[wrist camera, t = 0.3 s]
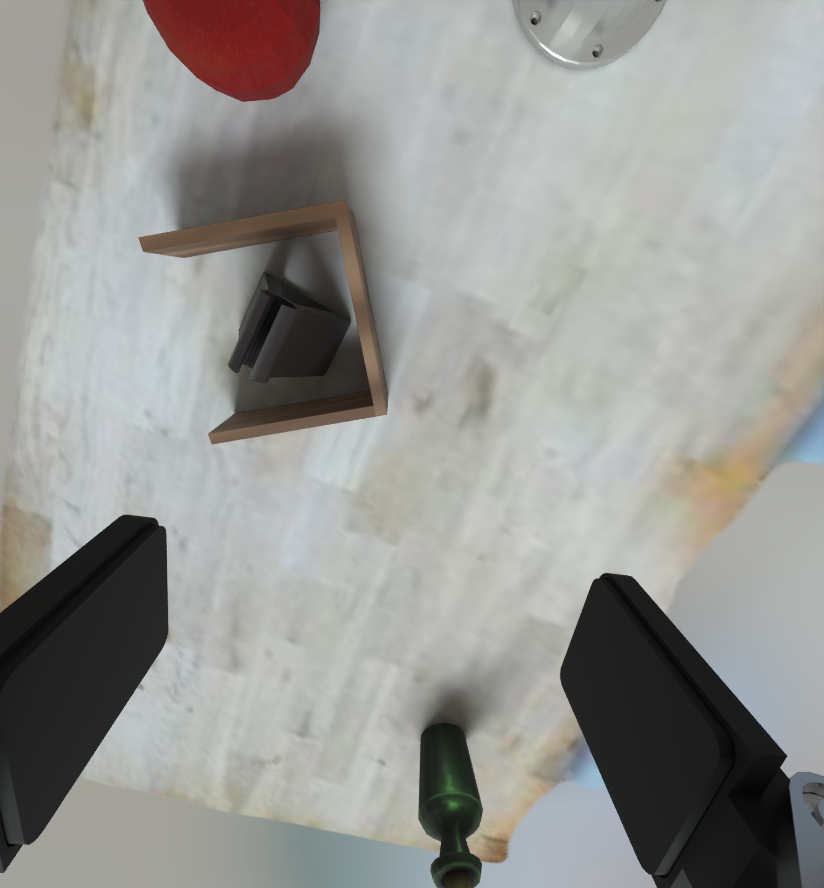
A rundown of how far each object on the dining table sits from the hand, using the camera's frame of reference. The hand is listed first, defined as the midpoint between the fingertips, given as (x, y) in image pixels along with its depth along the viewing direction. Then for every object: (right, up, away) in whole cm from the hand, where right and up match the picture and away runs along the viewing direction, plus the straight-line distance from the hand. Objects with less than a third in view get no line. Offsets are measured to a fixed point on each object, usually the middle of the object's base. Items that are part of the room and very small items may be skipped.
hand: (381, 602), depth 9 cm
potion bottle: (+5, -39, +52) cm, 66 cm away
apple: (-11, +35, +24) cm, 44 cm away
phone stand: (-11, +15, +32) cm, 37 cm away
